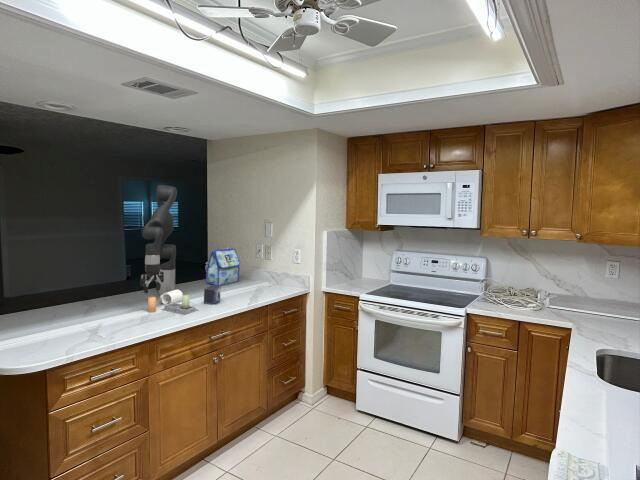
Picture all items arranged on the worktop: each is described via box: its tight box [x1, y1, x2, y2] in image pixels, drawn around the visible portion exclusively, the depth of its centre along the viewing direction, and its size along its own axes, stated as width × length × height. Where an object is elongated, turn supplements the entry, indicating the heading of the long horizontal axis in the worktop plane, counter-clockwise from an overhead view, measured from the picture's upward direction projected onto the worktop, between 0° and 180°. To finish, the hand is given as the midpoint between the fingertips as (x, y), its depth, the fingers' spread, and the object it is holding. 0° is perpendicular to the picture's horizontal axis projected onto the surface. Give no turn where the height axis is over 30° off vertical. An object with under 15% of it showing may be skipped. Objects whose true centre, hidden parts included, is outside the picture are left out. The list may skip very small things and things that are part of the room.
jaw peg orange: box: [147, 296, 157, 313], centre depth 223 cm, size 4×4×9 cm
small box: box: [203, 284, 221, 306], centre depth 248 cm, size 11×6×10 cm, turn 168°
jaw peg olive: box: [181, 294, 190, 310], centre depth 227 cm, size 4×4×9 cm
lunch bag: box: [205, 248, 241, 286], centre depth 305 cm, size 22×17×26 cm
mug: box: [159, 289, 184, 305], centre depth 244 cm, size 12×10×8 cm
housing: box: [160, 302, 199, 316], centre depth 229 cm, size 18×12×3 cm, turn 65°
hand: (152, 291), depth 222 cm, fingers open, 8 cm apart
